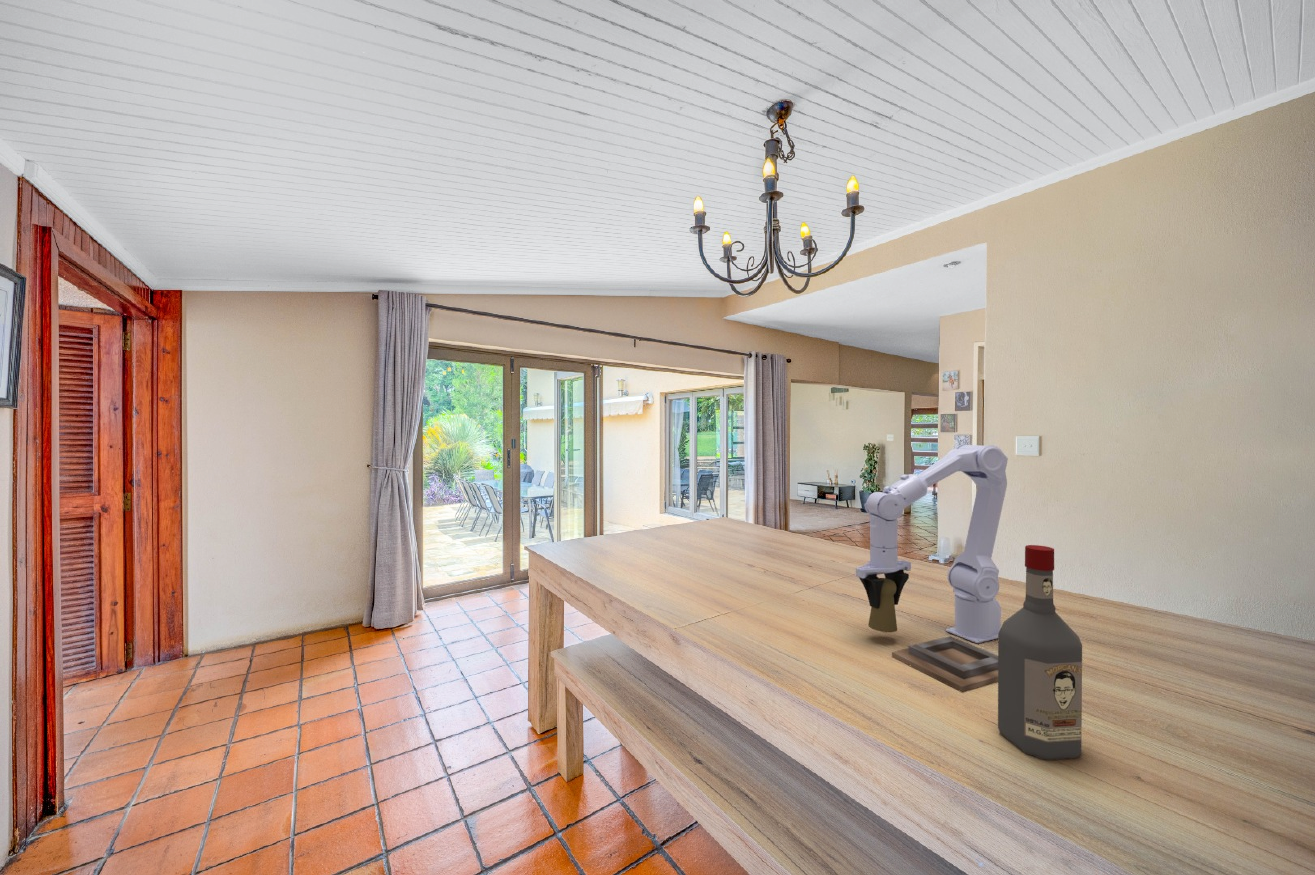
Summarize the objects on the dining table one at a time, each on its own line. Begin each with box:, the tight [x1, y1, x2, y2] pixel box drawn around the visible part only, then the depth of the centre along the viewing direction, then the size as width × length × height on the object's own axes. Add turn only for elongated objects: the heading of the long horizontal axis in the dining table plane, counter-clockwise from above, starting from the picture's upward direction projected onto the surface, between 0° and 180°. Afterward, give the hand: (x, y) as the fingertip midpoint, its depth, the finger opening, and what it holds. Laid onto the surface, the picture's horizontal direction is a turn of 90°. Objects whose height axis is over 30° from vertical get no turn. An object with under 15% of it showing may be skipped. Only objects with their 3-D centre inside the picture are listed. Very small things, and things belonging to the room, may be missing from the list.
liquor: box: [997, 544, 1083, 761], centre depth 80 cm, size 9×9×30 cm
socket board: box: [891, 635, 998, 693], centre depth 106 cm, size 18×16×2 cm
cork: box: [868, 577, 898, 633], centre depth 118 cm, size 6×6×11 cm
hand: (883, 605), depth 118 cm, fingers closed on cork, 5 cm apart
